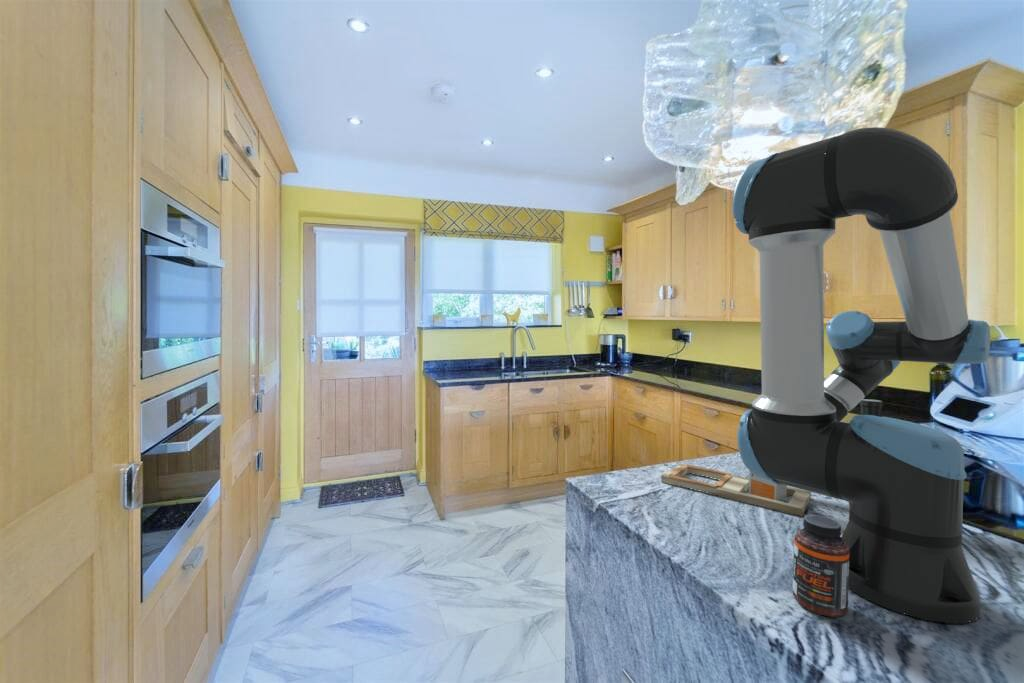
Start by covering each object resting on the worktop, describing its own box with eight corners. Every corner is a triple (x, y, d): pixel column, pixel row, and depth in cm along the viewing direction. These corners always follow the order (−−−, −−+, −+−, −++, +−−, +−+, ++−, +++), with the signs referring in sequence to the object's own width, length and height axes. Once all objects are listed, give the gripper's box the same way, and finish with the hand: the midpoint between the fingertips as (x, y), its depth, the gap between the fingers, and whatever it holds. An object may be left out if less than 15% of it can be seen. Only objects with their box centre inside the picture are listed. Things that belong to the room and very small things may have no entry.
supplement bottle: (788, 605, 56) (789, 520, 56) (796, 585, 60) (798, 506, 60) (845, 626, 52) (847, 535, 52) (850, 603, 56) (852, 519, 56)
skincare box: (747, 495, 93) (748, 441, 93) (758, 491, 95) (759, 438, 95) (776, 505, 88) (777, 448, 88) (787, 501, 90) (788, 445, 90)
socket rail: (801, 516, 82) (801, 507, 82) (661, 481, 101) (661, 474, 101) (810, 498, 91) (810, 490, 91) (680, 469, 110) (680, 462, 110)
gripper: (894, 426, 78) (811, 505, 79) (804, 402, 103) (741, 463, 104) (866, 397, 78) (782, 477, 79) (783, 381, 103) (720, 441, 104)
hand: (759, 469), depth 92 cm, fingers open, 13 cm apart
